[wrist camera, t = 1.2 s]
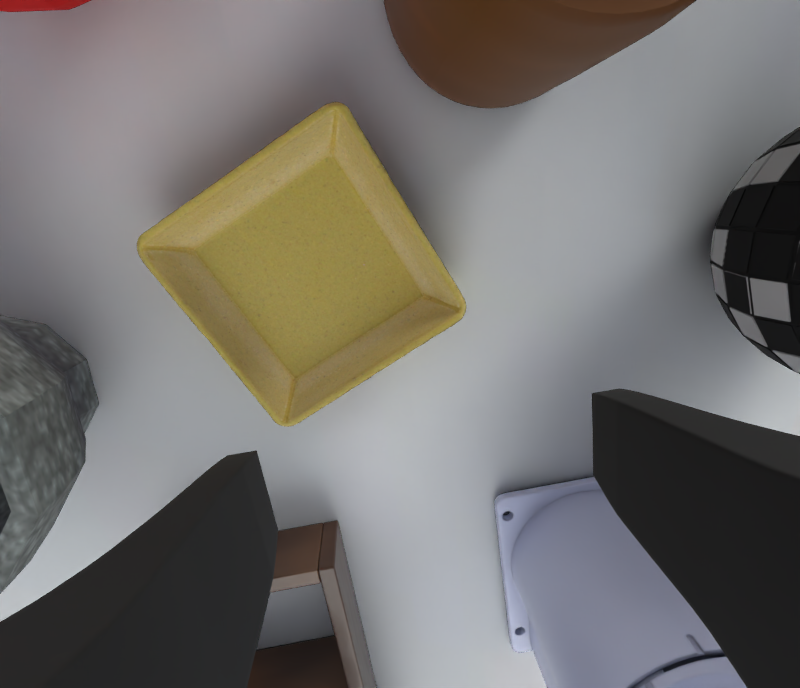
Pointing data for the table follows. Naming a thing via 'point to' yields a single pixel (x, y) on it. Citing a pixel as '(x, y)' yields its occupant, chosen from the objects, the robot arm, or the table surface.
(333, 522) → the rack
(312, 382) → the saucer
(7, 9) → the tomato
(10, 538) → the mortar and pestle
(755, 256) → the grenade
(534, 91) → the mug
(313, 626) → the table surface
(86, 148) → the table surface
